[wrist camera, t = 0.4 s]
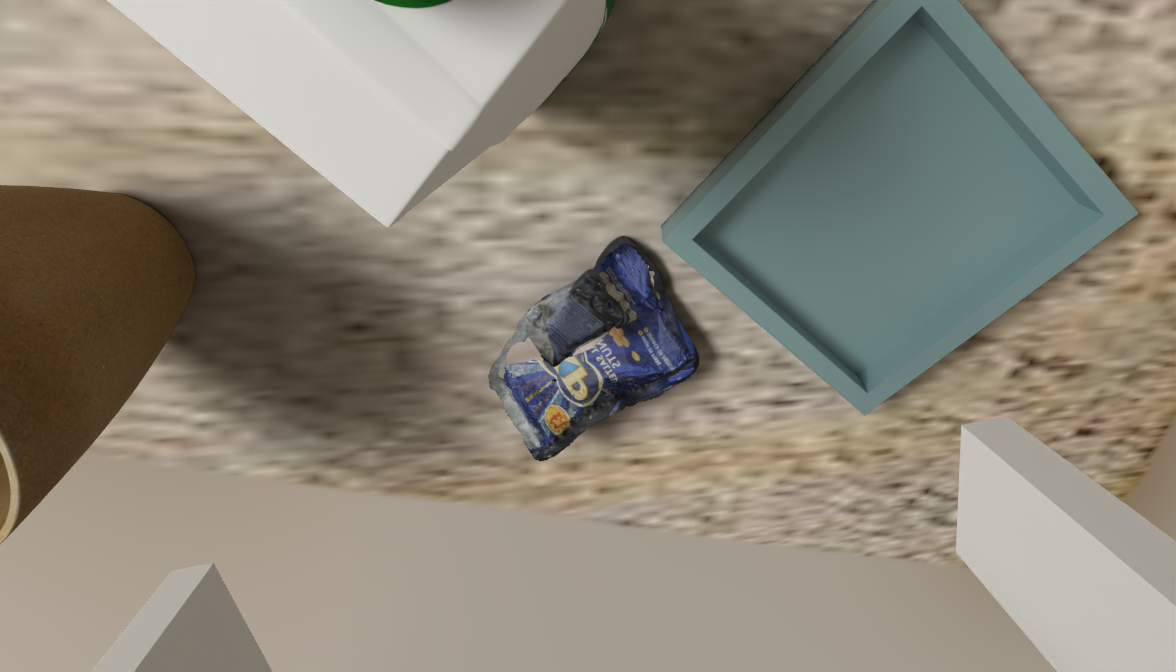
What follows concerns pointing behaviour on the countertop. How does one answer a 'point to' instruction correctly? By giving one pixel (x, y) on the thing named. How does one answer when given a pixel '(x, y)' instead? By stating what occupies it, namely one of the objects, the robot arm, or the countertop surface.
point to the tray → (895, 201)
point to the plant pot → (76, 325)
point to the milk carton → (380, 77)
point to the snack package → (594, 351)
